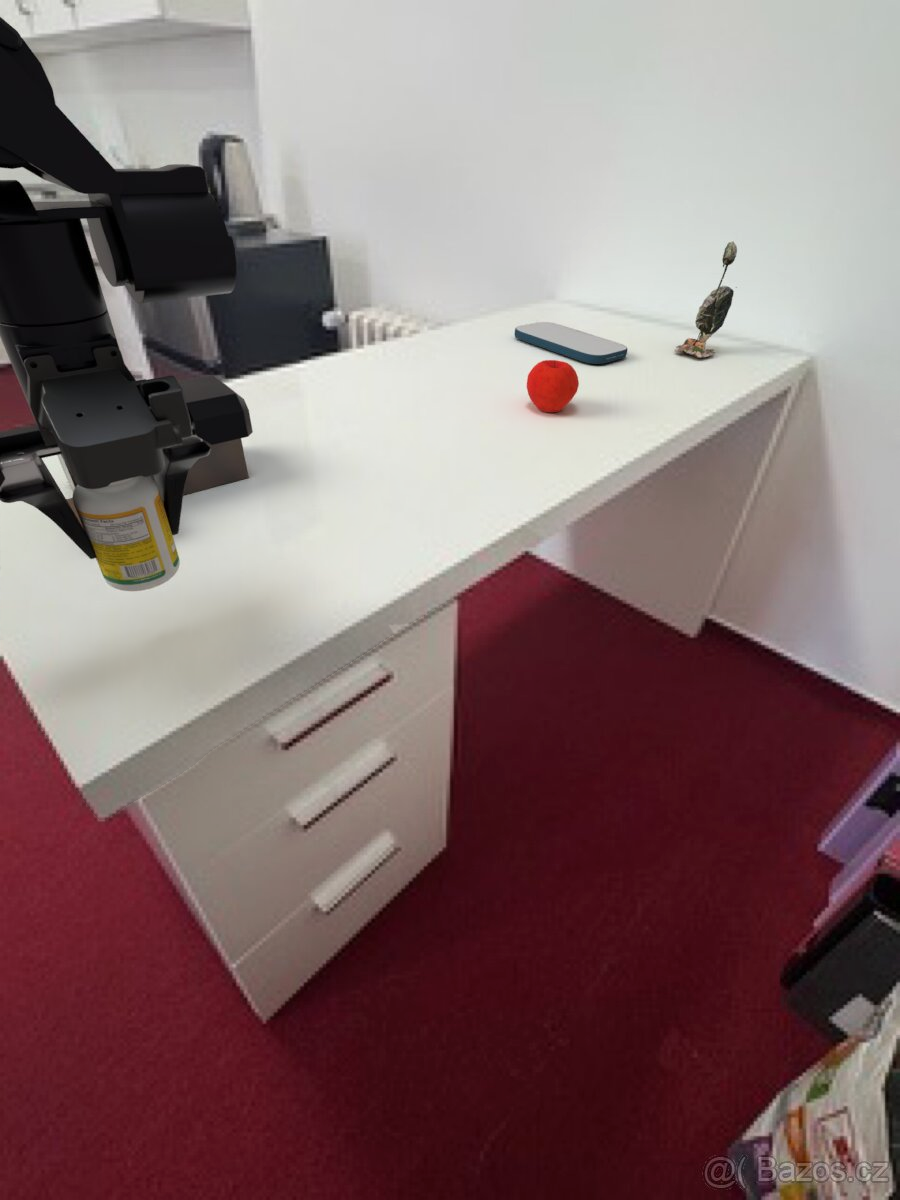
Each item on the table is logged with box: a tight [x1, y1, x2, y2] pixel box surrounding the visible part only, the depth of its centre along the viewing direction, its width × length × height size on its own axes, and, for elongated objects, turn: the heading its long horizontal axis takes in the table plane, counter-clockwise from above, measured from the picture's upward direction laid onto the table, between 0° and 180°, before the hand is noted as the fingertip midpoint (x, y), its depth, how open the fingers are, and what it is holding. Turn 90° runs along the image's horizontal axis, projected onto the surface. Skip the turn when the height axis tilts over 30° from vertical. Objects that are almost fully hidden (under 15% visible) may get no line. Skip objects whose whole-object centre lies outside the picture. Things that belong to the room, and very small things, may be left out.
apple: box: [526, 359, 580, 413], centre depth 92 cm, size 8×8×7 cm
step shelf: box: [56, 438, 250, 527], centre depth 67 cm, size 20×17×7 cm
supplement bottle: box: [72, 476, 181, 592], centre depth 42 cm, size 5×5×10 cm
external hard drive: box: [514, 321, 628, 365], centre depth 120 cm, size 24×12×2 cm, turn 39°
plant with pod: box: [674, 240, 738, 359], centre depth 115 cm, size 8×11×20 cm
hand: (134, 544), depth 43 cm, fingers closed on supplement bottle, 5 cm apart
